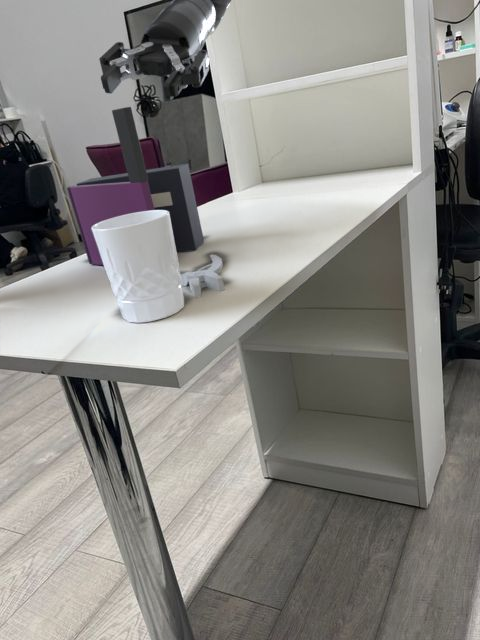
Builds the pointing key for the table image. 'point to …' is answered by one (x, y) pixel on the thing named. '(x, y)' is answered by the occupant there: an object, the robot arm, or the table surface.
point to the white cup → (141, 264)
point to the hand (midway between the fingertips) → (136, 89)
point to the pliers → (205, 277)
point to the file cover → (113, 188)
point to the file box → (170, 201)
